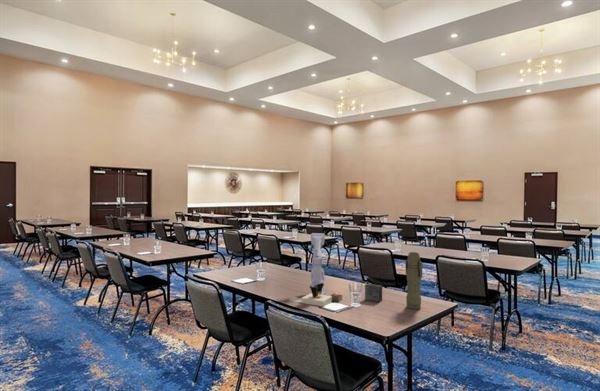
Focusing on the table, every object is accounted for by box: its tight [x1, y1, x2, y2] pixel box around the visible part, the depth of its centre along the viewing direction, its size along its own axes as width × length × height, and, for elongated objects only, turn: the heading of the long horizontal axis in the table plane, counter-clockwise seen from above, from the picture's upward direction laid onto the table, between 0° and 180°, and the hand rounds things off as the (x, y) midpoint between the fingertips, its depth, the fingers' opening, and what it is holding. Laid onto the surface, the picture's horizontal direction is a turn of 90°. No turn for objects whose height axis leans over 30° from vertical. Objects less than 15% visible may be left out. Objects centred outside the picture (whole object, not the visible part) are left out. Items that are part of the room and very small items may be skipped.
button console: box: [329, 293, 343, 303], centre depth 247 cm, size 7×7×3 cm
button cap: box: [332, 292, 340, 297], centre depth 247 cm, size 4×4×2 cm
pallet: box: [301, 292, 333, 307], centre depth 241 cm, size 14×16×4 cm
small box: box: [364, 283, 383, 303], centre depth 247 cm, size 11×6×10 cm, turn 59°
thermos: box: [405, 251, 423, 310], centre depth 232 cm, size 9×12×35 cm
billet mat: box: [288, 296, 303, 303], centre depth 246 cm, size 9×9×1 cm
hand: (316, 295), depth 241 cm, fingers open, 7 cm apart
